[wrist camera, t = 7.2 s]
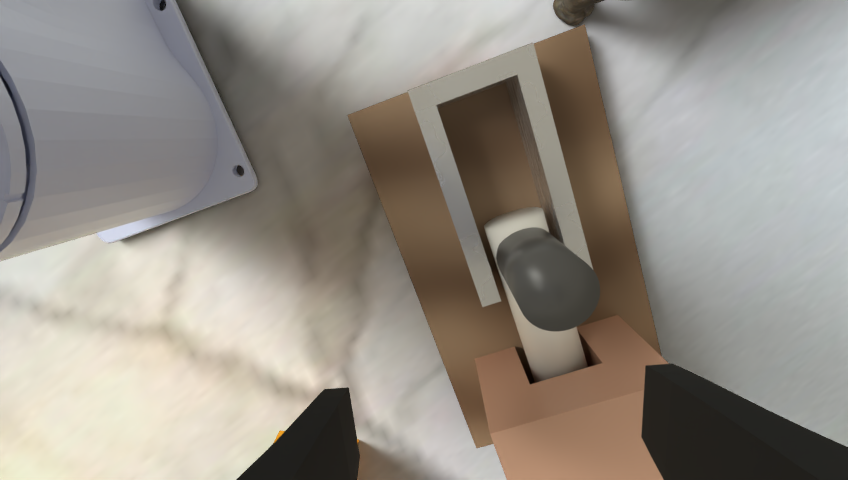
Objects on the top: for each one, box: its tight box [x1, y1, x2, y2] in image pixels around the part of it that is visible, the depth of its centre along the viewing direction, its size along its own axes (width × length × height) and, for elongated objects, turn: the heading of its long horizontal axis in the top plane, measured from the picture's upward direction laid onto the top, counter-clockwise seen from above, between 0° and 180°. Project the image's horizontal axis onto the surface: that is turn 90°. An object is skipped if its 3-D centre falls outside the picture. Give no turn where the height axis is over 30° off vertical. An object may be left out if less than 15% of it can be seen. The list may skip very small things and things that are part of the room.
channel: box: [408, 43, 593, 307], centre depth 16 cm, size 9×5×2 cm, turn 20°
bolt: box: [484, 207, 600, 383], centre depth 15 cm, size 9×2×6 cm, turn 20°
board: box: [348, 24, 661, 448], centre depth 18 cm, size 18×10×1 cm, turn 20°
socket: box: [475, 315, 669, 480], centre depth 17 cm, size 4×7×5 cm, turn 110°
